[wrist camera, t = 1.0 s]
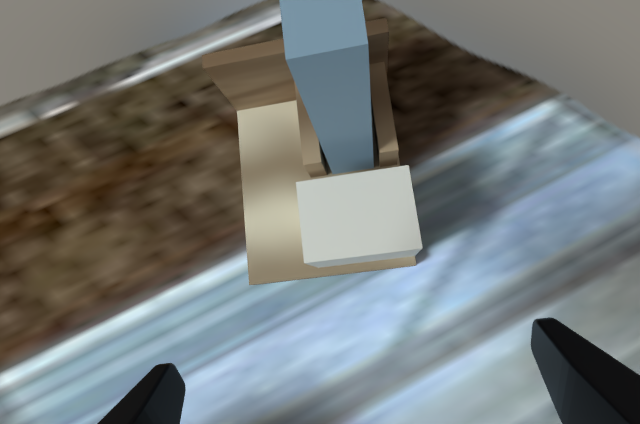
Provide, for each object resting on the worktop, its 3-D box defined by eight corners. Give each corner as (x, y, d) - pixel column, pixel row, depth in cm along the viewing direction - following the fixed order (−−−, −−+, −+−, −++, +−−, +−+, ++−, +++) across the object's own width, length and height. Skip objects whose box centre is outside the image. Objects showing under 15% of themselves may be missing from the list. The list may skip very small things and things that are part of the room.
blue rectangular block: (373, 168, 23) (368, 43, 11) (332, 174, 23) (285, 59, 11) (362, 92, 24) (346, -94, 12) (323, 99, 24) (272, -75, 13)
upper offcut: (418, 252, 19) (422, 248, 17) (312, 265, 20) (304, 263, 18) (405, 177, 20) (408, 165, 18) (304, 192, 21) (295, 181, 19)
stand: (414, 265, 22) (427, 258, 16) (254, 284, 24) (213, 283, 18) (384, 80, 25) (386, 17, 19) (241, 106, 26) (202, 55, 20)
